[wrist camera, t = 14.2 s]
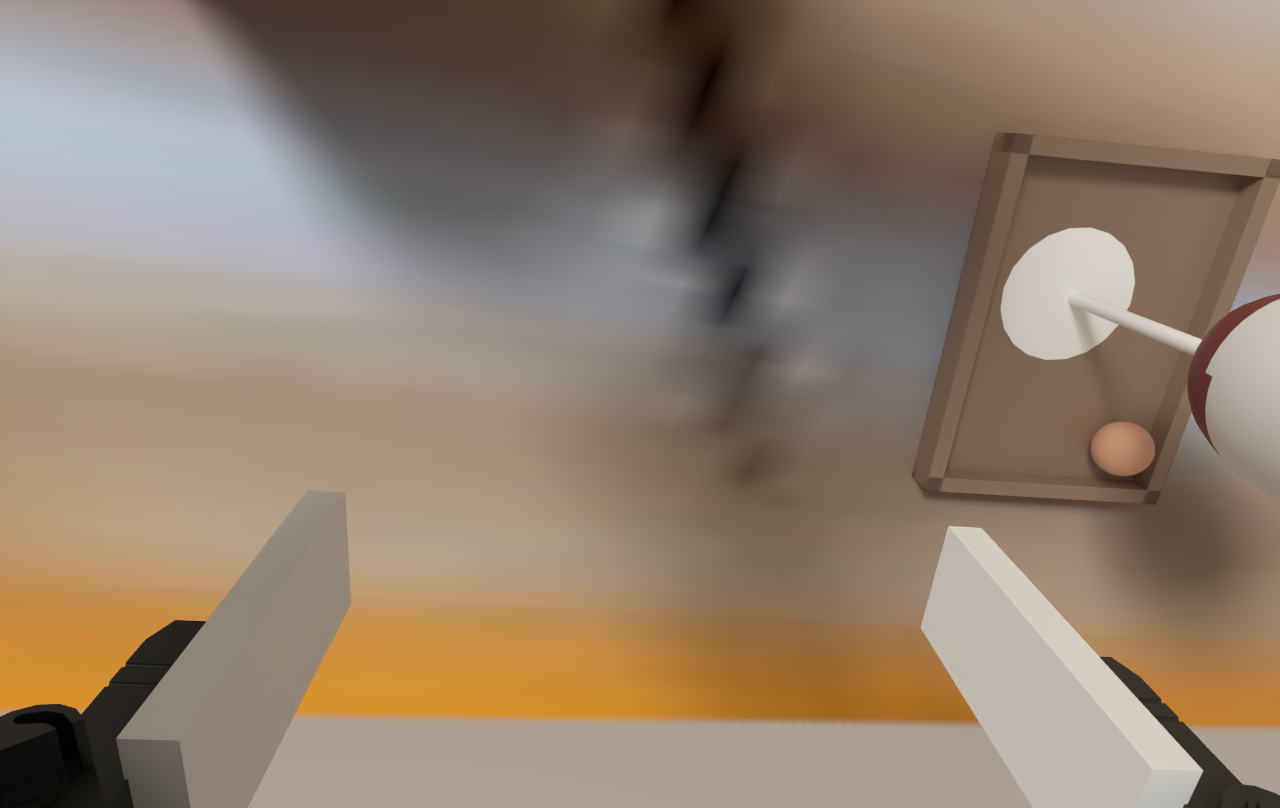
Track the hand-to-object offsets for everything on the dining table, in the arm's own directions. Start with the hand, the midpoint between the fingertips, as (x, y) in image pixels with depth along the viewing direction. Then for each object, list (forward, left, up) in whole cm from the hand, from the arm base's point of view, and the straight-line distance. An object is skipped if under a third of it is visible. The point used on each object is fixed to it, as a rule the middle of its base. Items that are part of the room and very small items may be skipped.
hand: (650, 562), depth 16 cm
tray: (+1, +29, -31) cm, 42 cm away
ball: (+8, +33, -30) cm, 45 cm away
